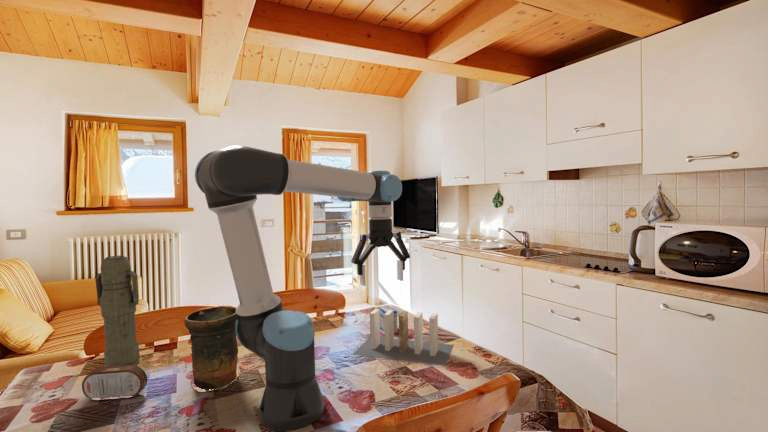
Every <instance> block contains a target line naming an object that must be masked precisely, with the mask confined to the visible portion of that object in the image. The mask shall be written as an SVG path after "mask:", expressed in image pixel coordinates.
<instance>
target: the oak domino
mask: <svg viewBox="0 0 768 432" xmlns="http://www.w3.org/2000/svg"><path fill="white" fill-rule="evenodd" d="M408 314H409V313H408V311H406V310H405V311H403V310H402V312H401V313H400V314H398V339H399V349H400V352H402V353H405V351H406V350H407V348H408V340H409V317H408Z"/></svg>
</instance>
